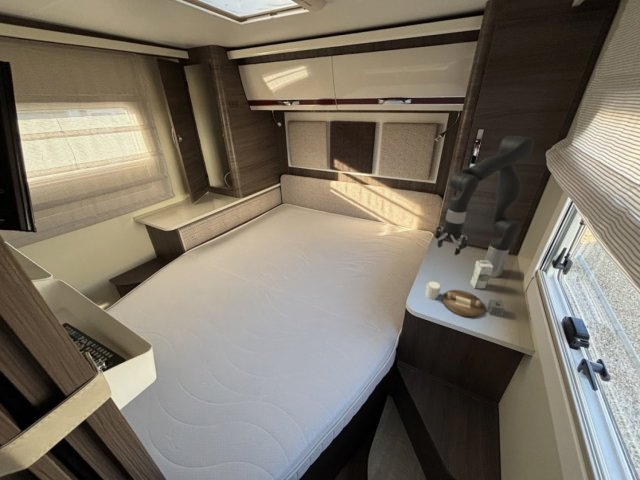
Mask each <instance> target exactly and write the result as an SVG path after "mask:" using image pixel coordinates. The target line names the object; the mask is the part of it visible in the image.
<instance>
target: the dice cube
mask: <svg viewBox="0 0 640 480" xmlns="http://www.w3.org/2000/svg"><path fill="white" fill-rule="evenodd" d="M486 309H487V311H488V314H489V316H497V317H500V318H502V317H503V315H504V312H505V309H506V308H505V305H504V302H503V301H501V300H497V299H495V300H494V299H489V301H488V304H487V307H486Z"/></svg>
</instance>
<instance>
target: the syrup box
mask: <svg viewBox="0 0 640 480" xmlns="http://www.w3.org/2000/svg"><path fill="white" fill-rule="evenodd" d="M492 270H493V266H492V264H491V263H490V262H489V261H485V260H476V262H475V265H474V268H473V271H472V273H471V277H470V280H469V283H470V285H471V286H472V287H473V289H477V290H478V289H479V290H480V289H481V290H482V289H483V290H485V289H486V288H487V285H488V283H489V280H490V275H491V272H492Z"/></svg>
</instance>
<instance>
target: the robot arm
mask: <svg viewBox="0 0 640 480" xmlns="http://www.w3.org/2000/svg"><path fill="white" fill-rule="evenodd" d="M534 147H535V141H534V139H533V138H532V137H530V136H521V135H520V136H519V135H507V136H505V137H504V138H503V139H502V140H501V141H500V144H499V147H498V155H497V154H496V155H494V156H489V157H487V158H485V159H483V160H481V161H479V162H477V163H476V164H474V165H472V166H471V167H467V168H464V169H462V170H459V171H457V172H454V174H453V175H451V177H450V179H449V187H451V189H453V190H456V191H460V192H461V194H454V195H453V196H451V198H450V201H449V204H448V209H447V212H446V215H445V221H444V224H443V225H439V226H437V227H436V231H435V234H434V238H435V239H437V240H438V241H437V248H440V249H441V247H443V243H444V239H447V240H449V241H450V242H453V244H454V245H455V247H456V248H455V250H454V256H458V255H459V254H461V250H464V249H465V248H467V246H468V240H469V235H463V234H462V232H463V228H464V224H465V221H466V217H467V210H468V206H469V202H470V200H471V199H472V196H473V195H474V194H475V192H476V190H477V189H478V186H479V183H480V182H482V181H484V180H485V179H487V178H488V177H490V176H491V175H493V174H495V173H496V172H498V182H497V188H496V201H495V209H494V214H493V218H492V223H491V229H492V231H493V232H494V233H496V234H497V235H499V236H502V237H501V238H499V237H496V238H493V239H491V240H490V243H489V245H488V250H487V252H486V255H485V258H484V261H489V262H490V263H491V264H492V266H493V270H492V272H491V275H490V277H491V278H499V277H500V275H501V274H503V272H504V271H503V270H504V267H505V265H506V263H507V258H508V256H509V252H510V249H511V247H512V246H513V244H514V242H515V240H516V238H517V235H518V234H519V231H520V228H521V225H520V223H519V222H518V221H516V220H514V219H511V218H509V217H508V216H507V213H508V210H509V208H511V207H512V206H513V205H514V204H515V203H517V201H518V200H519V199H520V197H521V191H522V181H521V178H520V177H519V175H518V173H517V171H516V169H515V167H514V164H516V163H517V162H520V161H522V160H524V159H526V158H528V156H529V155H530V154H531V153H532V152H533V150H534ZM442 232H443V234H442Z"/></svg>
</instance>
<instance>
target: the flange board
mask: <svg viewBox="0 0 640 480" xmlns="http://www.w3.org/2000/svg"><path fill="white" fill-rule="evenodd" d="M441 300H442V304H443V306H444V307H445V308H446V309H447V310H448V311H449V312H451V313H452V314H454V315H457V316H459V317H463V318H466V319H467V318H469V319H472V318H474V319H475V318H478V317H480V316H482V315H483V313H484V311H485V305H484V303H483V302H482V300H481V299H480V298H478V297H477V295H475V294H473V293H471V292H468V291H466V290H461V289H450V290H447V291H446V292H444V293H443V295H442V299H441Z"/></svg>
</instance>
